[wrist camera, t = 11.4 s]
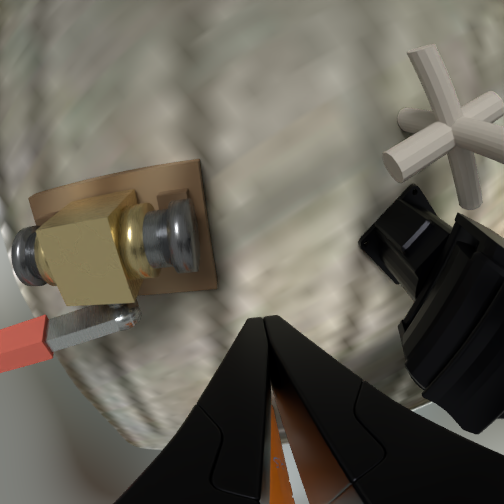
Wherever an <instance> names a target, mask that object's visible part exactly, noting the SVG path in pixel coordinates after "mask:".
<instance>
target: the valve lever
mask: <svg viewBox="0 0 504 504" xmlns="http://www.w3.org/2000/svg"><path fill="white" fill-rule="evenodd" d="M141 316H142V313H141V310H140V307H139V304H138V302H137V299H136V300H135V303H126V304H125V305H123V306H122V307H120V308H116V309H113V308H110V307H109V306H108V304H101V305H92V306H89V307H86V308H83V309H80V310H77V311H74V312H71V313H67V314H64V315H61V316H58V317H55V318H52V319H48V318H47V316H46V315H43V316H40V317H37V318H34V319H31V320H28V321H25V322H22V323H19V324H16V325H13V326H10V327H7V328H4V329H1V330H0V373H2V372H5V371H9V370H13V369H16V368H20V367H24V366H28V365H31V364H35V363H38V362H41V361H45V360H49V359H52V358H53V352H54V351H57V350H60V349H63V348H67V347H70V346H73V345H76V344H80V343H83V342H86V341H89V340H92V339H96V338H99V337H102V336H105V335H108V334H111V333H114V332H117V331H122V330H126V329H129V328H131V327H133V326H135V325H136V324H137V323H138V322H139V320H140V319H141Z"/></svg>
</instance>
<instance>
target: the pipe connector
mask: <svg viewBox="0 0 504 504" xmlns="http://www.w3.org/2000/svg"><path fill="white" fill-rule="evenodd" d="M407 55H408V57H409V58H410V60H411V62H412V64H413V67H414V69H415V71H416V73H417V75H418V77H419V79H420V81H421V84H422V86H423V88H424V91H425V93H426V95H427V98H428V100H429V103H430V105H431V108H432V110H433V111H429V110H422V109H415V108H403V109H401V110H400V112H399V113H398V118H397V119H398V124H399V126H400V128H401V129H402V130H403V131H405V132H409V133H413V134H414V135H412V136H410V137H409V138H407V139H405V140H404V141H402V142H400V143H399V144H397V145H395V146H393V147H392V148H390V149H388V150H387V151H385V152H383V155H382V158H383V162H384V164H385V166H386V168H387V170H388V172H389V173H390V174H391V176H392V177H393V178H394V179H395V180H396V181H397V182H399V183H403V182H404V181H406V180H407V179H409V178H410V177H412V176H414V175H415V174H417V173H418V172H420V171H421V170H423V169H424V168H426V167H427V166H429V165H430V164H432V163H434V162H435V161H437V160H438V159H440V158H441V157H443V156H444V155H446V154H447V155H448V159H449V162H450V166H451V170H452V174H453V178H454V182H455V187H456V191H457V196H458V201H459V205H460V206H461V207H462V208H464V209H467V210H473V209H476V208H478V207H480V206H481V204H482V203H483V201H482V193H481V187H480V181H479V175H478V170H477V165H476V161H475V156H474V153H477V154H480V155H482V156H485V157H488V158H490V159H493V160H495V161H497V162H500V163H502V164H504V126H500V125H497V124H493V122H495V121H496V120H498V119H499V118H500V117H502V116H503V115H504V103H503V101H502V99H501V98H500V96H499V95H498V94H497V93H495V92H492V91H489V92H486V93H485V94H483V95H481V96H479V97H478V98H476V99H474V100H472V101H470V102H469V103H467V104H465V105H463V106H462V107H461V106H460V103H459V100H458V97H457V95H456V92H455V89H454V87H453V84H452V81H451V79H450V77H449V74H448V72H447V69H446V67H445V65H444V62H443V60H442V58H441V56H440V54H439V52H438V50H437V47H436V45H435V44H431V45H426V46H422V47H418V48H415V49H412V50H410V51H408V52H407Z"/></svg>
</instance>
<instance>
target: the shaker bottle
mask: <svg viewBox="0 0 504 504" xmlns="http://www.w3.org/2000/svg"><path fill="white" fill-rule="evenodd" d="M292 495H293V493H292V489H291V484H290V482H289V476H288V472H287V467H286V463H285V458H284V454H283V450H282V445H281V440H280V436H279V431H278V427H277V422H276V418H275V413H274V409H273V406H272V405H271V461H270V502H269V504H295V502H294V498H292Z"/></svg>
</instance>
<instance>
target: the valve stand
mask: <svg viewBox="0 0 504 504" xmlns="http://www.w3.org/2000/svg"><path fill="white" fill-rule="evenodd" d="M28 199H29V202H30V206H31V209H32V213H33V216H34V219H35V223H36V226H32V227H27V228H24V229H22V230H20V231H19V232H18V233H17V235H16V236H15V239H14V241H13V245H12V264H13V268H14V271H15V273H16V275H17V277H18V278H19V280H20V281H21V282H22V283H23V284H25V285H27V286H42V285H45V284H47V283H48V284H49V285H52V286H57V287H58V289H59V291H60V293H61V295H62V297H63V299H64V302H65V304H66V306H79V305H101V304H108V306H109V307H110V308H113V309H116V308H120V307H122V306H123V305H125V304H126V303H135V300H136V298H137V296H139V295H152V294H164V293H176V292H188V291H199V290H209V289H217V275H216V269H215V263H214V257H213V250H212V244H211V237H210V231H209V224H208V217H207V210H206V203H205V196H204V189H203V181H202V174H201V166H200V159H195V160H187V161H180V162H174V163H167V164H161V165H155V166H150V167H144V168H139V169H133V170H128V171H123V172H119V173H114V174H109V175H105V176H100V177H96V178H92V179H87V180H83V181H79V182H75V183H71V184H68V185H64V186H60V187H57V188H53V189H49V190H46V191H43V192H39V193H36V194H34V195H32V196H31V197H29V198H28Z"/></svg>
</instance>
